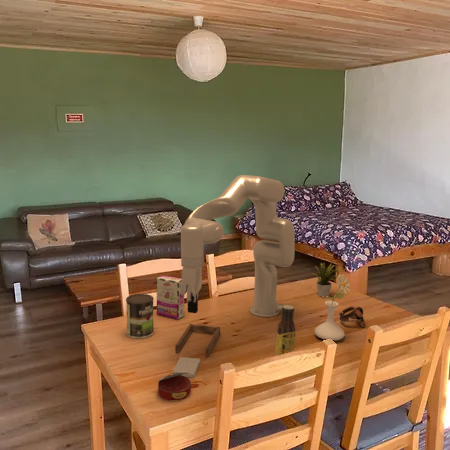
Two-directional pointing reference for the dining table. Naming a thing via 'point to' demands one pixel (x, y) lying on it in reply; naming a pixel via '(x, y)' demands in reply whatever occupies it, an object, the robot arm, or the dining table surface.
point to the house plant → (325, 280)
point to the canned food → (174, 387)
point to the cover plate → (187, 366)
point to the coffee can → (139, 316)
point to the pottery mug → (353, 315)
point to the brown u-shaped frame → (199, 329)
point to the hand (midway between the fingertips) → (192, 311)
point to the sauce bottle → (285, 331)
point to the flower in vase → (330, 327)
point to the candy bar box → (169, 297)
